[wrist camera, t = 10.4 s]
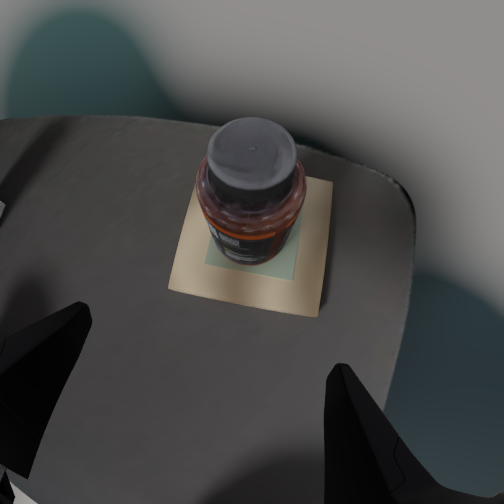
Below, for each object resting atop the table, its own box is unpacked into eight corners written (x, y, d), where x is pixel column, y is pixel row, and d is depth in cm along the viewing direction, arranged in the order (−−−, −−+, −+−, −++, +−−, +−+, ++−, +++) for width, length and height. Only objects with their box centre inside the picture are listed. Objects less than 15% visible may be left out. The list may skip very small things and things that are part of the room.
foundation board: (328, 189, 25) (333, 181, 23) (312, 317, 22) (317, 317, 20) (205, 166, 25) (203, 157, 24) (172, 290, 22) (167, 288, 21)
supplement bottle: (280, 195, 23) (307, 100, 12) (291, 263, 21) (336, 206, 10) (210, 201, 23) (186, 107, 12) (215, 271, 21) (185, 219, 10)
